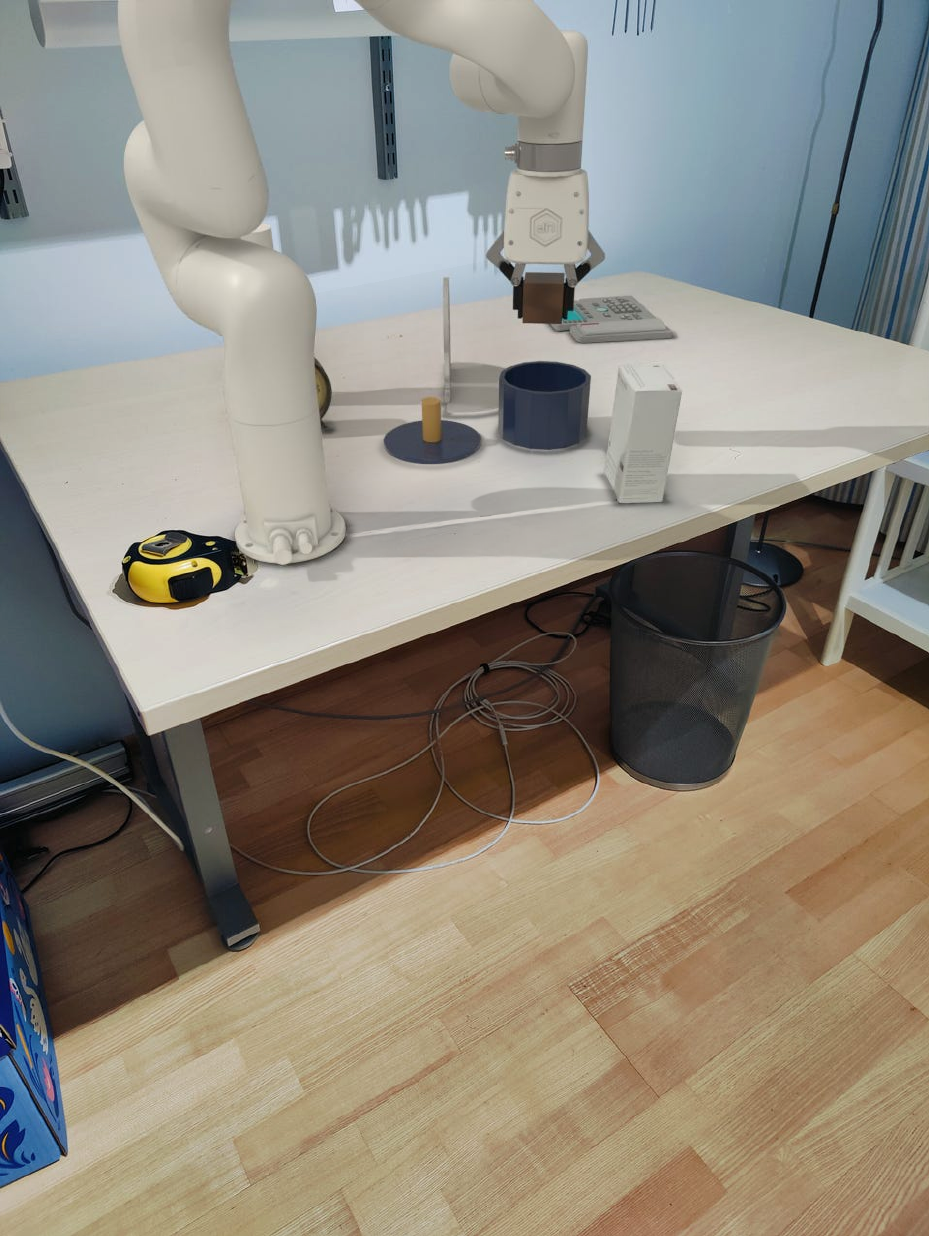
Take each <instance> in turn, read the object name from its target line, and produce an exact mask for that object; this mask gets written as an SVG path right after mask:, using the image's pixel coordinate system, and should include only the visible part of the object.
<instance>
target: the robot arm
mask: <svg viewBox="0 0 929 1236" xmlns="http://www.w3.org/2000/svg"><path fill="white" fill-rule="evenodd" d="M353 1H354V2H355V3H357V4H358V5H359V6H360V7H361V8H362V9H363V10H364V11H365V12H366V13H368V15H370V16H371V17H372V18H373V19H374V20H375V21H376V22H377V23H379V25H381V26H382V27H384V28H385V29H387V30H388V31H391V32H392V33H395V34H397V35H399V36H401V37H403V38H405V39H408V40H410V41H412V42H415V43H418V44H421V45H425V46H428V47H432V48H436V49H440V50H443V51H446V52H449V53H452V56H451V59H450V61H449V68H448V69H449V70H448V71H449V74H448V75H449V82H450V86H451V88H452V90H453V93H454V94H455V96H456V98H457V99H458V100H459V101H460V102H461V103H462V104H464V105H465V106H466V107H468V108H469V109H471V110H474V111H477V112H480V113H487V114H496V115H512V116H517V142H516V143H514V145H511V146H505V147H504V160H505V161H511V162H514V164H516V168H515V169H513V170H511V171H510V173H509V178H508V183H507V189H506V190H507V191H506V197H505V208H504V209H505V210H504V227H503V230H502V231H501V233H500V235H498V237H497V238H496V240H495V241H494V242H493V243H492V244H491V246H490V247H489V249H488V250H487V252H486V254H485V257H486V259H487V260H488V261H489V262H490V263H491V264H492V265H494V267H496V268H497V269H498V270H499V271H500V272H501V273H502V275H503V276H504V277H506V279H507V280H508V281H509V282H510V284H511V286H512V310H513V311H517V319H522V318H523V283H524V278H525V276H523V275H524V272H525V268H526V265H563V269H564V273H565V280H564V293H563V312H562V318H563V320H567V317H568V311H573V309H574V301H575V291H576V286H577V285H578V284H579V283H580V282H581V281H582V280H583V279H584V278H585V277H586V276H587V275H588V274H589V273H590V272H591V271H592V270H593V269H595V268H596V267H598V266H599V265H600V264H601V263H603V262H604V261H605V259H606V253H605V251H604V250H603V249H602V247H601V246H600V244H599V243H598V241H597V240H596V238H595V237H594V235H593V234H592V232H591V231H590V230H589V227H590V225H589V223H590V221H589V220H590V190H589V189H590V188H589V178H588V173H587V171H586V170H585V169H582V157H583V143H584V142H583V140H584V139H583V138H584V125H585V106H586V93H587V92H586V90H587V89H586V88H587V72H588V57H589V45H588V40H587V38H586V36H585V35H584V34H583V32H582V33H581V32H580V31H576V30H562V29H561V30H560V28H559V27H557V25H556V24H555V23H554V21H552V19H550V17H549V16H548V15H547V14H546V13H545V11H543V10H542V9H541V7H540V6H539V5H538V4H537V3H536V2H535V1H534V0H353ZM233 4H234V0H117V27H118V28H117V29H118V36H119V41H120V47H121V52H122V56H123V60H124V63H125V67H126V70H127V74H128V77H129V79H130V82H131V86H132V88H133V92H134V94H135V97H136V101H137V105H138V107H139V111H140V114H141V116H142V120H141V121H140V122H139V123H137V125H135V127H134V128H133V130H132V131H131V133H130V135H129V137H128V139H127V141H126V144H125V147H124V153H123V175H124V180H125V185H126V190H127V193H128V196H129V199H130V203H131V205H132V207H133V210H134V212H135V215H136V218H137V220H138V222H139V224H140V227H141V229H142V232H143V235H144V237H145V239H146V242H147V244H148V247H149V249H150V251H151V254H152V257H153V259H154V261H155V263H156V266H157V268H158V270H159V273H160V275H161V279H162V280H163V283H164V285H165V288H166V289H167V291H168V293H169V295H170V297H171V298H172V300H173V302H174V303H175V305H176V307H178V309H179V310H180V312H182V313H183V315H185V316H186V317H187V318H188V319H189V320H191V321H193V322H194V323H195V324H197V325H200V326H201V327H203V328H204V329H207V330H209V331H210V332H213V333H215V334H217V335H218V336H220V337H221V338H222V340H223V344H224V358H223V365H222V390H223V391H222V392H223V399H224V405H225V410H226V414H227V420H228V425H229V426H228V427H229V431H230V437H231V443H232V449H233V454H234V460H235V466H236V471H237V476H238V477H237V478H238V483H239V487H240V493H241V494H240V495H241V498H242V499H241V500H242V505H243V511H244V516H245V517H244V518H243V519H242V520H241V521H240V522H239V523H238V524H237V526H236V528H235V530H234V540H235V543H236V547H237V549H238V550H239V551H240V553H242V554H243V555H244V556H246V557H249V558H251V559H253V560H256V561H259V562H263V563H268V564H278V565H281V566H283V565H285V566H286V565H288V564H295V563H302V562H307V561H311V560H313V559H317V558H320V557H322V556H324V555H327V554H328V553H330V552H331V551H333V550H334V549H335V548H337V547H338V546H340V544H341V543H342V542H343V541H344V539H345V537H346V530H347V529H346V521H345V519H344V516H342V514H341V513H339V511H337V510H335V509H333V508H332V507H331V506H330V505H331V504H330V499H329V498H330V497H329V496H330V495H329V488H328V487H329V486H328V478H327V468H326V460H325V451H324V443H323V434H322V426H321V424H320V415H319V406H318V399H317V390H316V379H315V364H314V357H315V347H316V346H315V344H316V331H317V320H318V319H317V317H318V313H317V312H318V307H317V299H316V293H315V291H314V287H313V285H312V283H311V280H310V279H309V277H308V276H307V274H306V273H305V271H304V270H303V269H302V267H300V265H298V264H297V262H296V261H294V260H293V259H292V258H290V257H289V256H287V255H285V254H284V253H283V252H280V251H278V250H276V249H275V248H274V249H271V248H268V247H265V246H262V245H259V244H256V243H253V242H250V241H245V240H242V239H241V237H242V236H245V235H248V234H250V233H252V232H253V231H254V230H256V229H257V228H258V227H259V225H260V224H261V223H264V220H265V218H266V216H267V214H268V211H269V203H270V188H269V183H268V182H269V181H268V178H267V174H266V170H265V166H264V164H263V160H262V157H261V155H260V151H259V147H258V143H257V142H256V141H257V140H256V138H255V135H254V132H253V131H254V130H253V128H252V125H251V122H250V118H249V115H248V112H247V108H246V105H245V102H244V99H243V95H242V92H241V89H240V85H239V82H238V77H237V74H236V69H235V65H234V61H233V56H232V51H231V44H230V19H231V14H232V7H233ZM502 251H503V254H504V256H503V255H502V254H501V252H502ZM588 252H589V253H590V255H589V256H588V257H587V253H588ZM586 257H587V258H586ZM513 263H514V265H513ZM577 264H579V265H577ZM576 265H577V266H576Z"/></svg>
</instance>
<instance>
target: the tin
mask: <svg viewBox="0 0 929 1236" xmlns="http://www.w3.org/2000/svg"><path fill="white" fill-rule="evenodd" d="M504 369H505V370H503V371H501V374H500V377H499V408H498V417H497V419H498V420H497V421H498V422H497V423H498V424H497V427H498V429H497V433H498V434H499V436H500V438H501V439H502V440H504V441H505V442H507V443H509V444H511V445H513V446H515V447H520V448H525V449H527V450H543V451H551V450H559V449H566V448H570V447H572V446H575V445H578V444H580V443H581V442H582V441H584V440H585V439H586V438H587V431H588V419H589V407H590V406H589V405H590V397H591V396H590V393H591V384H592V383H591V382H592V375H591V374H590V373H589V372H588V371H587V370H586V369H584V368H582V367H579V366H577V365H575V364H571V363H566V362H560V361H550V360H549V361H548V360H535V361H525V362H520V363H516V364H513V365H509V366H507V367H506V368H504Z"/></svg>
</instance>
